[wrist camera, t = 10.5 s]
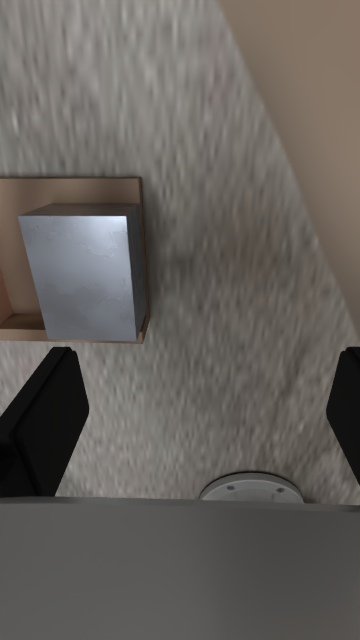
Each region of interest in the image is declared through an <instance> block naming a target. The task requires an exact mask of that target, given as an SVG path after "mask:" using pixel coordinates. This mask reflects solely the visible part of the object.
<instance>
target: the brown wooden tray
mask: <svg viewBox="0 0 360 640" xmlns="http://www.w3.org/2000/svg"><path fill="white" fill-rule="evenodd" d="M51 203H140V216H141V232H142V248H143V263H144V279H145V295H146V314H145V317H144V320H143V323H142V326H141V329H140V332H139V336H138V339H137V341H103V340H61V339H48V336H47V332H46V328H45V324H44V320H43V316H42V312H41V308H40V304H39V300H38V296H37V292H36V288H35V284H34V280H33V276H32V272H31V268H30V264H29V260H28V256H27V252H26V248H25V244H24V240H23V236H22V232H21V228H20V224H19V219H18V215H21V214H24V213H26V212H29V211H32V210H35V209H37V208H40V207H43V206H45V205H48V204H51ZM0 269H1V272H2V276H3V279H4V283H5V286H6V289H7V293H8V296H9V300H10V303H11V306H12V310H13V314H12V315H11V316H10V317H8V318H7V319H6V320H5V321H4V322H3V323H2V324H1V325H0V340H10V341H51V342H92V343H134V344H143V341H144V338H145V334H146V331H147V327H148V324H149V320H150V319H149V302H148V285H147V268H146V251H145V234H144V218H143V201H142V184H141V177H0Z"/></svg>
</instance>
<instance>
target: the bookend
mask: <svg viewBox="0 0 360 640" xmlns="http://www.w3.org/2000/svg"><path fill="white" fill-rule="evenodd" d="M18 219H19V224H20V228H21V232H22V236H23V240H24V244H25V248H26V252H27V256H28V260H29V264H30V268H31V272H32V276H33V280H34V284H35V288H36V292H37V296H38V300H39V304H40V308H41V312H42V316H43V320H44V324H45V328H46V332H47V336H48V339H61V340H103V341H137V339H138V336H139V332H140V329H141V326H142V323H143V320H144V317H145V314H146V295H145V279H144V263H143V248H142V232H141V216H140V203H51V204H48V205H45V206H43V207H40V208H37V209H35V210H32V211H29V212H26V213H24V214H21V215H18Z"/></svg>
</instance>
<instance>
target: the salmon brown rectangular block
mask: <svg viewBox="0 0 360 640" xmlns="http://www.w3.org/2000/svg"><path fill="white" fill-rule="evenodd" d="M12 314H13V310H12V306H11V303H10V300H9V296H8V293H7V289H6V286H5V283H4V279H3V276H2V272H1V269H0V325H1V324H2V323H3V322H4V321H5V320H6V319H7V318H8V317H10V316H11V315H12Z"/></svg>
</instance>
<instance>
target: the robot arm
mask: <svg viewBox="0 0 360 640" xmlns="http://www.w3.org/2000/svg"><path fill="white" fill-rule="evenodd" d="M88 414H89V404H88V399H87V395H86V391H85V386H84V382H83V378H82V374H81V369H80V365H79V361H78V356H77V353H76V351H72V349H71V348H70V347H53V348H52V349H51V350H50V351H49V353H48V354H47V355H46V357H45V358H44V359H43V361H42V362H41V363H40V365H39V366H38V367H37V369H36V370H35V371H34V373H33V374H32V375H31V377H30V378H29V379H28V381H27V382H26V383H25V385H24V386H23V387H22V389H21V390H20V391H19V393H18V394H17V395H16V397H15V398H14V399H13V401H12V402H11V403H10V405H9V406H8V407H7V409H6V410H5V412H4V413H3V414H2V416H1V417H0V640H360V506H357V505H333V504H305V503H304V502H303V498H302V496H301V494H300V492H299V491H298V489H297V488H296V487H295V486H293V485H292V484H291V483H289V482H288V481H286V480H284V479H282V478H279V477H276V476H273V475H268V474H263V473H240V474H235V475H230V476H227V477H224V478H221V479H219V480H217V481H215V482H213V483H212V484H210V485H209V486H208V487H207V488H205V490H204V491H203V492H202V493H201V495H200V498H199V500H183V499H147V498H107V497H54V496H55V494H56V491H57V489H58V487H59V484H60V482H61V479H62V477H63V475H64V472H65V470H66V467H67V465H68V463H69V460H70V458H71V456H72V453H73V451H74V448H75V446H76V444H77V441H78V439H79V436H80V434H81V432H82V429H83V427H84V425H85V422H86V420H87V417H88ZM326 415H327V419H328V421H329V423H330V425H331V427H332V429H333V431H334V433H335V436H336V438H337V440H338V442H339V444H340V446H341V448H342V450H343V452H344V454H345V456H346V458H347V460H348V462H349V465H350V467H351V469H352V471H353V473H354V475H355V477H356V479H357V481H358V483H359V485H360V347H347V349H346V350H345V351H342V352H341V354H340V357H339V361H338V365H337V369H336V373H335V377H334V381H333V385H332V388H331V392H330V396H329V400H328V404H327V408H326Z"/></svg>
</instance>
